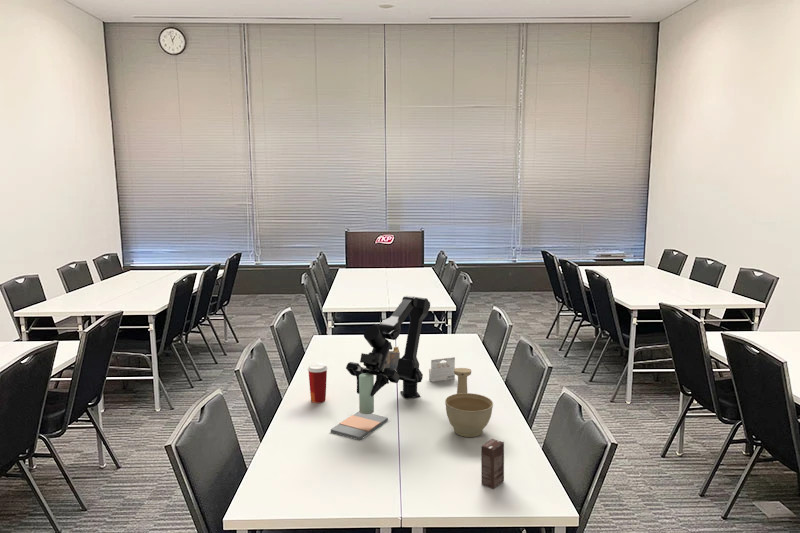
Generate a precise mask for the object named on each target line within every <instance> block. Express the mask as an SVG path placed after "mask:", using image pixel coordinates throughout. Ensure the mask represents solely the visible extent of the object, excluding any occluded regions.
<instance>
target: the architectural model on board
mask: <svg viewBox="0 0 800 533" xmlns="http://www.w3.org/2000/svg"><path fill="white" fill-rule="evenodd" d="M399 358H401V353H400V349H399V346H393V349H392V350H389V352H388V355H387V358H386V361H387V363H386V364H384V366H383V369H382V370H384V369H385V368H390V369H397V366H398V360H399Z"/></svg>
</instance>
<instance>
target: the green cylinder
mask: <svg viewBox="0 0 800 533" xmlns="http://www.w3.org/2000/svg"><path fill="white" fill-rule="evenodd" d="M374 380H375V375H373V374H371V373H362V374H360V375H359V394H358V396H359V397H358V402H359V403H358V404H359V407H358V408H359V411H358V412H360V413H361V414H374V412H375V400H374V399H375V398H374V397H375V395H374V396H371V391H372V389H373V386H374V384H375V381H374Z"/></svg>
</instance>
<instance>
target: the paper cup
mask: <svg viewBox="0 0 800 533" xmlns="http://www.w3.org/2000/svg"><path fill="white" fill-rule="evenodd" d="M307 371H308V382H309V394H310V395H309V396H310V401H311V403H313V404H321V403H324V402H325V401H326V400H327V399H326V398H327V397H326V395H327V374H328V373H327V372H328V366H327V364H325V363H321V362H314V363H311V364H309V365H308V367H307Z"/></svg>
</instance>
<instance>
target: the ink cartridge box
mask: <svg viewBox="0 0 800 533" xmlns="http://www.w3.org/2000/svg"><path fill="white" fill-rule="evenodd" d="M442 361H446V362H442ZM430 362H431V363H430V368H429V369H428V380H429V382H439V381H450V380H455V379H456V375H455V374H454V369H455V368H456V367H455V365H456V357H447V358H436V359H431V361H430Z"/></svg>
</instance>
